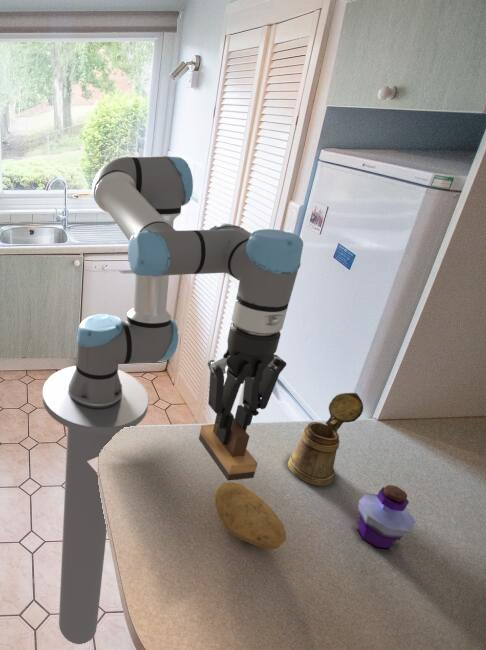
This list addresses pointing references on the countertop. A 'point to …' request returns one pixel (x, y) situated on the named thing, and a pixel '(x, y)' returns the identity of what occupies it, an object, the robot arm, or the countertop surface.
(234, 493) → the potato
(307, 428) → the wooden mug
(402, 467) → the countertop surface
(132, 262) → the robot arm
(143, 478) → the countertop surface
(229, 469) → the brush
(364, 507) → the potion bottle
